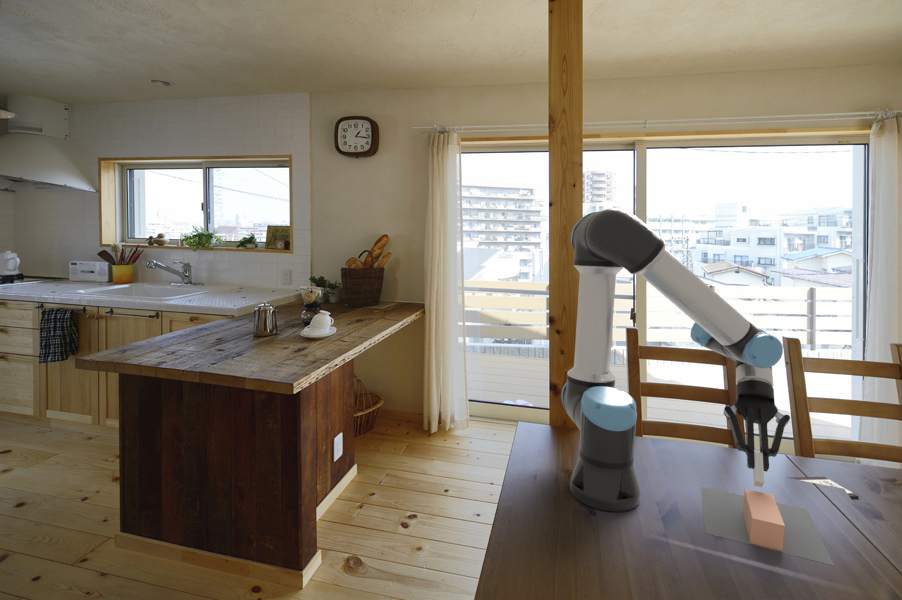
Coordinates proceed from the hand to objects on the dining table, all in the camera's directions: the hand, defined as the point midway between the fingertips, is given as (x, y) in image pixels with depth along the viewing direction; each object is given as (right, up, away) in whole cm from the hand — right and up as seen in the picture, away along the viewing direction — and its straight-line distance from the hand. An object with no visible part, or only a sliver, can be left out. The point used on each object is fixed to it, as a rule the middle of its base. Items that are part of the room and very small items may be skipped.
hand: (758, 484), depth 97 cm
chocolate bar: (+19, -7, +12) cm, 23 cm away
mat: (-2, -7, -2) cm, 8 cm away
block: (-1, -4, -1) cm, 4 cm away
